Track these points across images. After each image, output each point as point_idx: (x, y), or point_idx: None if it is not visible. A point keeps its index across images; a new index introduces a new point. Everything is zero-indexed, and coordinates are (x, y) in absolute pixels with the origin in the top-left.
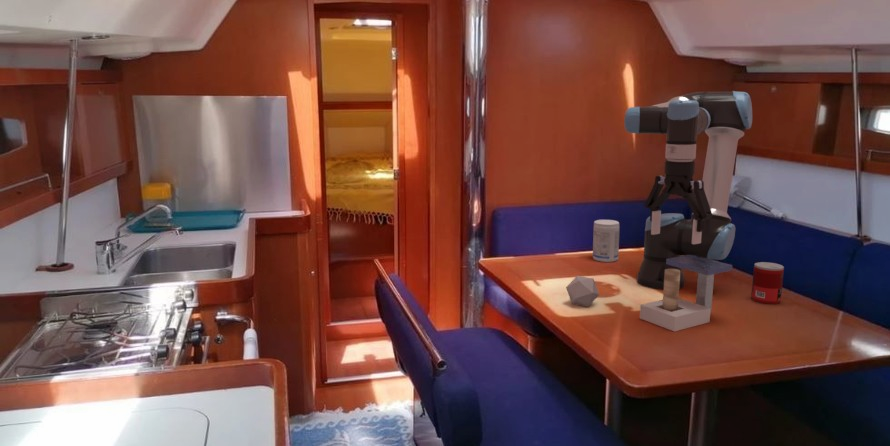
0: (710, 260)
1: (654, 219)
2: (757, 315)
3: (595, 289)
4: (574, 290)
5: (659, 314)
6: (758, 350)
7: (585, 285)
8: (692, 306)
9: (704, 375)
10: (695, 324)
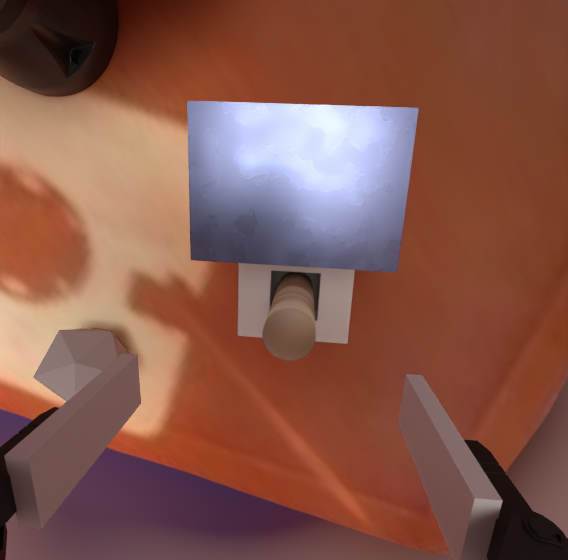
0: (309, 119)
1: (85, 466)
2: (404, 41)
3: (105, 354)
4: None
5: None
6: (522, 280)
7: None
8: None
9: (504, 458)
10: None
